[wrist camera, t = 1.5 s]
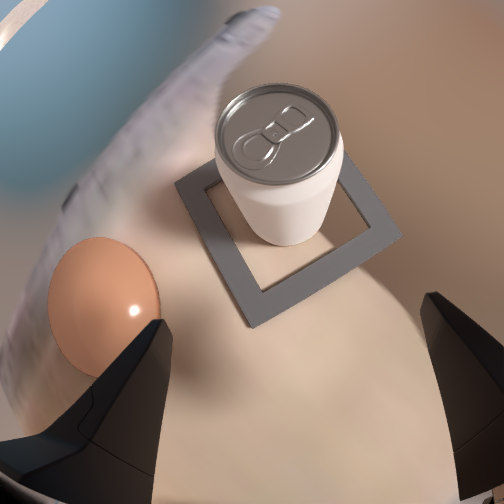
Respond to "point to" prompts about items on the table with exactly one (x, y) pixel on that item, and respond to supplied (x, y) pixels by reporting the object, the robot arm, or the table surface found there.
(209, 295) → the table surface
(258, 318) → the gray square frame
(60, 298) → the plate
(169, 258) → the table surface
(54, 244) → the table surface
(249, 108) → the can
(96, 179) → the table surface
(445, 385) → the robot arm
